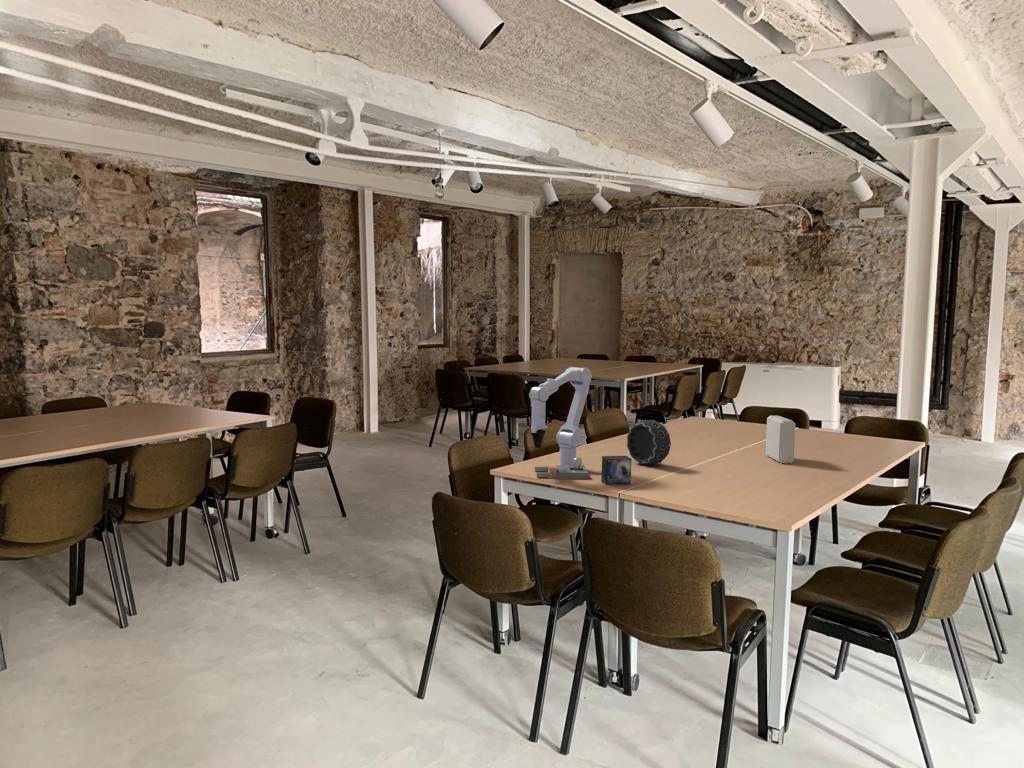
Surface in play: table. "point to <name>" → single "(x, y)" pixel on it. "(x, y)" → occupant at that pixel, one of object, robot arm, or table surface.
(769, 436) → the grey upright block
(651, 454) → the black toy wheel
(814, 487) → the table surface
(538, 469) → the grey flat plate
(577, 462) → the axle peg
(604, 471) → the small box
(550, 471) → the latch bar
